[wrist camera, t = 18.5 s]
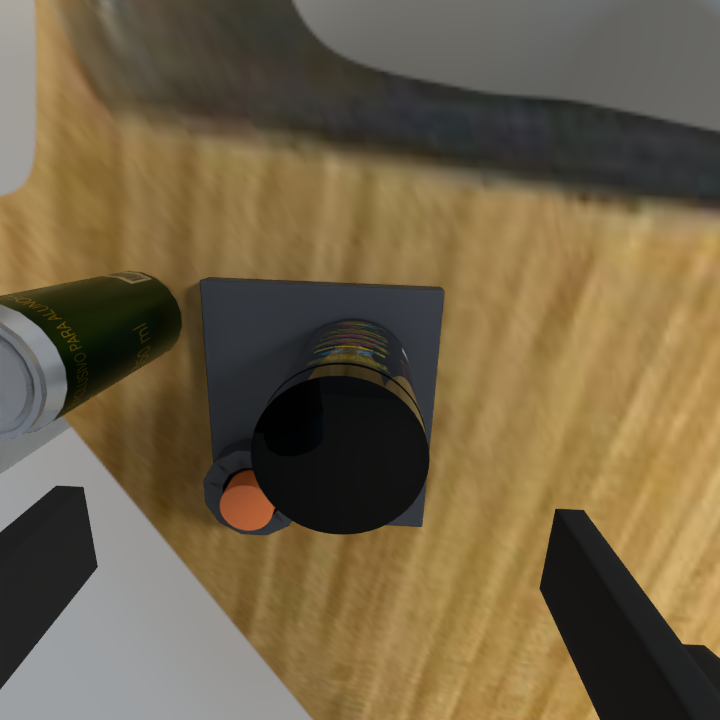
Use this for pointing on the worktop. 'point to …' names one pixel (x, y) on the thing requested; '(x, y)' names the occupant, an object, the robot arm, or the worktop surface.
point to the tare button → (245, 503)
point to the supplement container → (343, 432)
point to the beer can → (78, 343)
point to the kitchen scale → (280, 349)
